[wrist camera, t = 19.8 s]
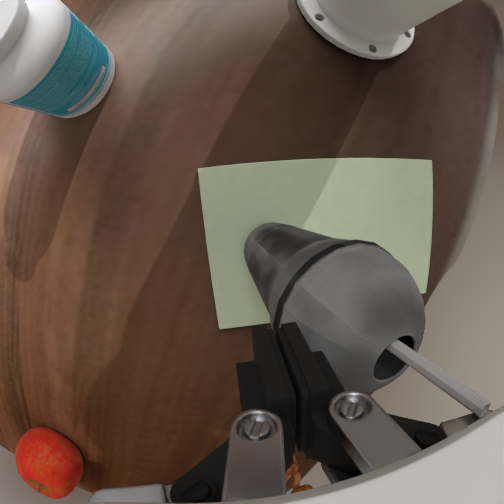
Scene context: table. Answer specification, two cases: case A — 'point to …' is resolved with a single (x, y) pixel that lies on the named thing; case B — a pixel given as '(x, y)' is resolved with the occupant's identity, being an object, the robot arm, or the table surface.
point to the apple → (49, 462)
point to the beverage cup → (347, 306)
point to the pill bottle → (51, 59)
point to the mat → (312, 216)
